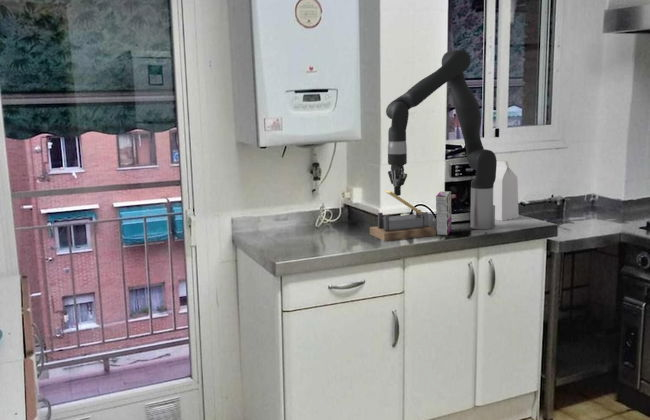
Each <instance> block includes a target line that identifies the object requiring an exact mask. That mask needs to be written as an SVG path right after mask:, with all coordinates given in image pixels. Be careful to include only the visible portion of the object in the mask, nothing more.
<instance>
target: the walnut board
mask: <svg viewBox="0 0 650 420" xmlns="http://www.w3.org/2000/svg"><path fill="white" fill-rule="evenodd" d="M370 235H371V236H373V237H375V238H377V239H379V240H381V241H384V242H390V241H397V240H399V241H400V240H405V239H414V238H424V237H432V236H437V234H436V227H434V226H431V225H429V224H428V227H423V228H415V229H406V230H397V231H384V229H379V228H378V225H377V226H370V227H369V236H370Z"/></svg>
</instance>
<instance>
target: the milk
mask: <svg viewBox="0 0 650 420" xmlns="http://www.w3.org/2000/svg"><path fill="white" fill-rule="evenodd" d="M518 183H519V181H518V176H517V175H516V174H515V173H514V171H513V170H512V169H511V168H510V167H509V163H508V161H507V160H497V166H496V179H495V182H494V187H493V205H495V219H496V220H495V221H499V220H504V221H508V220H507V219H509V220H513V219H512V218H514V219H518V218H517V217H519V189H518V186H519V184H518ZM519 218H520V217H519Z"/></svg>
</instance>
